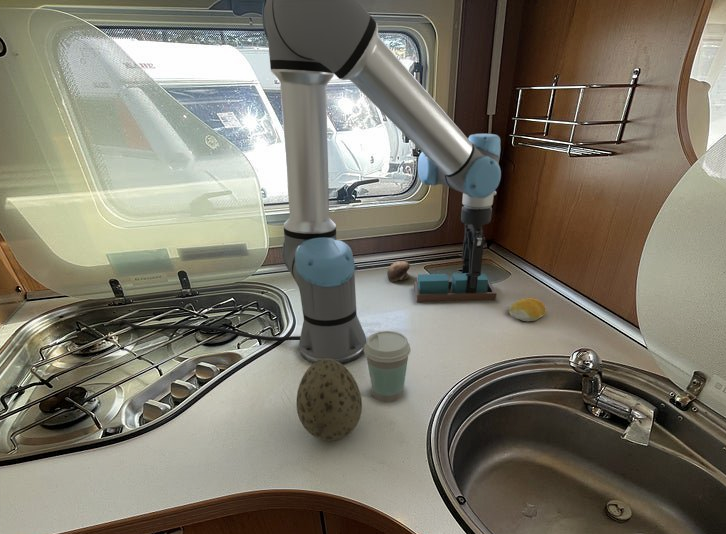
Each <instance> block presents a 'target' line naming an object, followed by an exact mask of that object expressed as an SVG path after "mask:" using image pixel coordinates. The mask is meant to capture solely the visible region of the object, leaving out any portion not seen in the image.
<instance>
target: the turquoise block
mask: <svg viewBox="0 0 726 534" xmlns="http://www.w3.org/2000/svg"><path fill="white" fill-rule="evenodd" d="M417 281H418V289H419V293H420V294H444V293H448V286H449V281H450V280H449V277H448V274H447V273H421V274H419V273H418V274H417Z"/></svg>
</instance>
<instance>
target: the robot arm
mask: <svg viewBox="0 0 726 534" xmlns="http://www.w3.org/2000/svg"><path fill="white" fill-rule="evenodd" d="M261 10H262V11H261V12H262V13H261V18H262V20H261V22H262V28H263V31H264V35H265V38H266V40H267V41H266V42H267V44H268V54H269V55H268V56H269V64H270V65H269V66H270V72H271V74H272V75H273V76H274V77H275V78H276V80H277V81H278V83H279V88H280V101H281V114H282V128H283V142H284V155H285V157H284V158H285V169H286V170H285V171H286V182H287V185H286V186H287V197H288V198H287V199H288V209H289V211H288V212H289V217H288V219H287V220H286V221H285V222H284V223H283V236H284V239H283V244H282V260H283V262H284V264H285V265H284V266H286V268H287V270H288V271H289V272H290V274H291V276H292V278H293V280H294V281H295V283H296V285H297V287H298V291H299V296H300V301H301V309H302V317H303V322H302V327H301V332H300V335H291V336H290V335H287V336H266V335H258V334H252V333H248V332H247V333H246V332H242V331H237V330H233V329H229V328H225V327H217V326H211V325H210V326H209V325H195V324H160V325H155V324H154V325H140V324H134V323H132V322H130V321H128V320H127V319H121V320H119V321H118V324H117V325H118V326H122V325H127V326H128V327H130V328H133V329H135V330H201V331H202V330H204V331H213V332H220V333H226V334H230V335H234V336H238V337H241V338H248V339H254V340H260V341H268V342H287V341H299V342H298V347H299V353H300V355H301V356H302V357H303V358H304V360H306V361H308V362H310V363H312V364H314V363H315V362H316V361H318V360H321V359H325V358H329V359H333V360H336V361H338V362H339V363H341V364H342V365H344V364H347V363H350V362H352V361H355V360H356V359H358V358H360V357H361V356H362V355H364V354H365V353H364V346H365V344H366V341H367V337H366V334H365V331H364V329H363V326H362V324H361V323H360V320H359V317H358V314H357V313H358V312H357V297H356V296H357V294H356V276H355V268H356V264H355V259H354V254H353V251H352V249H351V247H350V246H349V245H348V244H347V243H346V242H344V241H343V240H341V239H337V224H336V223H335V222H334V221H333V220H332V219H331V217H330V193H329V152H328V151H329V150H328V147H329V145H328V143H329V142H328V106H327V105H328V104H327V103H328V101H327V86H328V84H329V82H330V81H331V80H332V79H333V78H334V77H335V76H336V78H337V79H338V80H339V81H347V80H349V81H350V82H351V83H352V84H353V85H354V86H355V87H356V88H357V89H358V90H359V91H360V92H361V93H362V94H363V95H364V96H365V97H366V98H367V99H368V100H369V101H370V102H371V103H372V104H373V105H374V106H375V107H376V108H377V109H378V110H379V111H380V112H381V113H382V114H383V115H384V116H385V117H386V118H387V119H388V120H390V121H391V123H392V124H393V125H394V126H395V127H396V128H397V129H398V130H399V131H400V132H401V133H402V134H403V135H404V136H405V137H406V138H407V139H409V140H410V142H411V143H412V144H413V145H414V146H415V147H416V148H417V149H418V150H419V151H420V154H419V156H418V160H417V174H418V178H419V180H420V182H421V184H422V185H424V186H433V187H435V186H437V185H443V186H445V187H448V188H449V189H452V190H454V191H458V192H460V193H462V201H461V204H462V205H463V206H462V207H461V215H460V221H461V223H463V224H464V233H463V234H464V236H463V243H462V249H461V250H462V251H461V260H462V261H461V262H462V268H461V273H468V274H466V276H467V283H466V293H476V288H477V280H478V276H480V275H481V273H482V263H483V255H484V254H483V253H484V246H485V241H486V238H485V237H484V230H483V227H484V226H486V225H488V224H490V223H491V221H492V214H493V207H492V206H493V204H494V196H496V195H497V191H496V190H497V188H498V187H499V185H500V182H501V178H502V170H501V167H500V164H499V162H500V158H501V155H500V153H501V137H500V136H499V135H498V134H494V133H474V134H470V135H469V136H468V137H467V136H466V135H465V134H464V132H463V131H462V130H461V129H460V128H459V126H458V125H456V123H455V122H454V121H453V120H452V119H451V118H450V116H449V114H447V113H446V112H445V111H444V109H442V107H441V106H440V105H439V104H438V103H437V102H436V101H435V99H434V98H433V97H432V95H430V93H429V92H428V91H427V90H426V89H425V88H424V86H422V84H421V83H420V82H419V81H418V80H417V78H416V77H415V76H414V75H413V74H412V73H411V72H410V70H409V69H408V68H407V67H406V66H405V65H404V64H403V62H402V61H401V60H400V58H398V57H397V56H396V54H395V53H394V52H393V51H392V50H391V49H390V47H389V46H388V45H387V44H386V43H385V42H384V41H383V39H381V37H380V36H379V25H378V22H377V21H376V20H375V19H374V18H373V17H372V16H371V15H370V13H369V12H368V11H367V10H366V9H365V7H364V6H363V5H362V4H361V3H360V2H359V0H264V1H263V4H262V9H261Z"/></svg>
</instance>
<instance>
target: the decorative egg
mask: <svg viewBox="0 0 726 534" xmlns="http://www.w3.org/2000/svg"><path fill="white" fill-rule="evenodd" d="M361 394H362V393H361V391H360V387H359V385H358V383H357V381H356V379H355V378H354V376H353V374H352V373H351V371H350V370H349V369H348V368H347V367H346V366H345V365H344V364H341V363H339V362H338V361H336V360H333V359H329V358H325V359H321V360H318V361H316V362H315V363H312V364H311V365H310V366H309V367H308V369H307V370H306V371H305V373H304V374H303V376H302V377H301V380H300V382H299V385H298V388H297V393H296V402H295V403H296V413H297V416H298V419H299V422H300V423H301V425H302V427H303V428H304V429H305V431H306V432H307V433H309V434H310V435H311V436H313V437H314V438H316V439H318V440H322V441H326V442H327V441H328V442H334V441H338V440H341V439H343V438H345V437H348V435H350V434H351V433H352V432H353V431H354V429H355V428H356V427H357V426H358V424H359V422H360V419H361V415H362V410H363V408H362V407H363V402H362V401H363V400H362V395H361Z"/></svg>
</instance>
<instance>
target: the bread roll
mask: <svg viewBox="0 0 726 534" xmlns="http://www.w3.org/2000/svg"><path fill="white" fill-rule="evenodd" d="M508 312H509V314H510V316H511V317H513V318H515V319H518V320H519V321H522V322H535V321H538V320H539V319H540V318H542V317H543V316H545V314H546V312H547V309H546V306H545V304H544V303H543V302H542V301H541V300H539V299H537V298H533V297H526V298H521V299H519V300H517V301H515V302H514V303H512V304H511V305H510V307H509V309H508Z"/></svg>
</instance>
